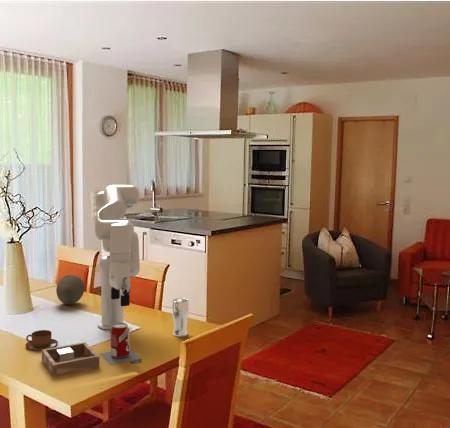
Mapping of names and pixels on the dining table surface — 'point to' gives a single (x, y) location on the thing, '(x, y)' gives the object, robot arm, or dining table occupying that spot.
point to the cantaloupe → (70, 289)
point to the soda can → (120, 340)
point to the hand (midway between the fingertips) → (120, 302)
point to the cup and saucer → (40, 340)
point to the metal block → (64, 354)
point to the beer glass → (180, 316)
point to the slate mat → (131, 358)
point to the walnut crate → (82, 360)
